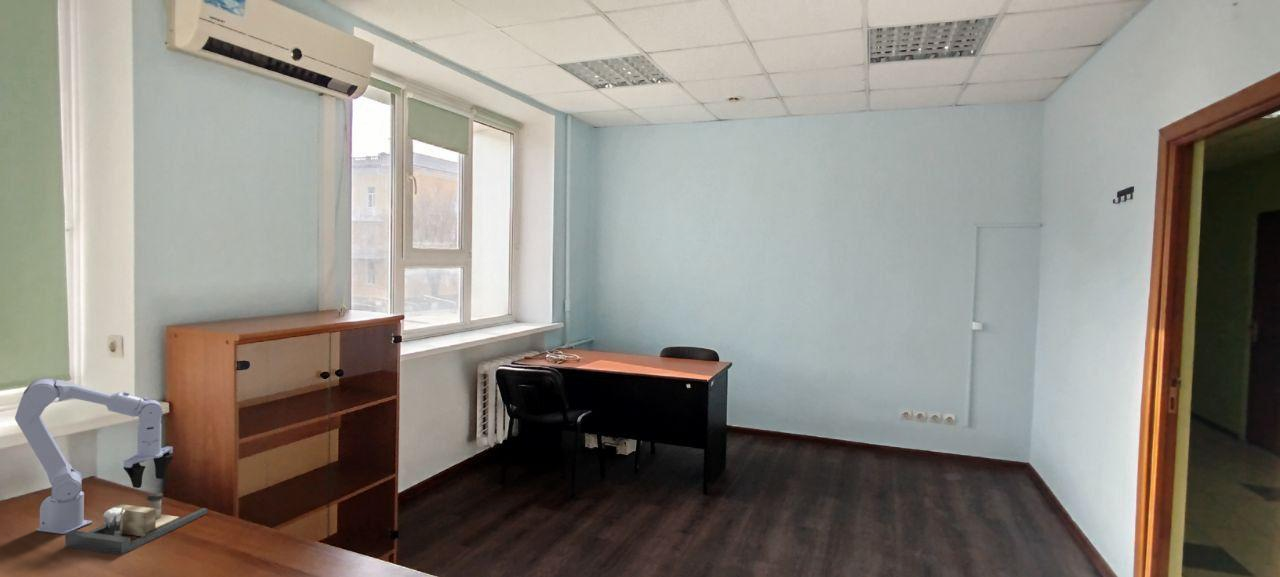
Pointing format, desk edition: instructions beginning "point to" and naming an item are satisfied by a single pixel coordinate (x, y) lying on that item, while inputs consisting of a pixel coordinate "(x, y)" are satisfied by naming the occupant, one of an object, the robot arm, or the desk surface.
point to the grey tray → (121, 544)
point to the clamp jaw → (145, 517)
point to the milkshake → (114, 521)
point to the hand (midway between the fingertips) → (148, 482)
